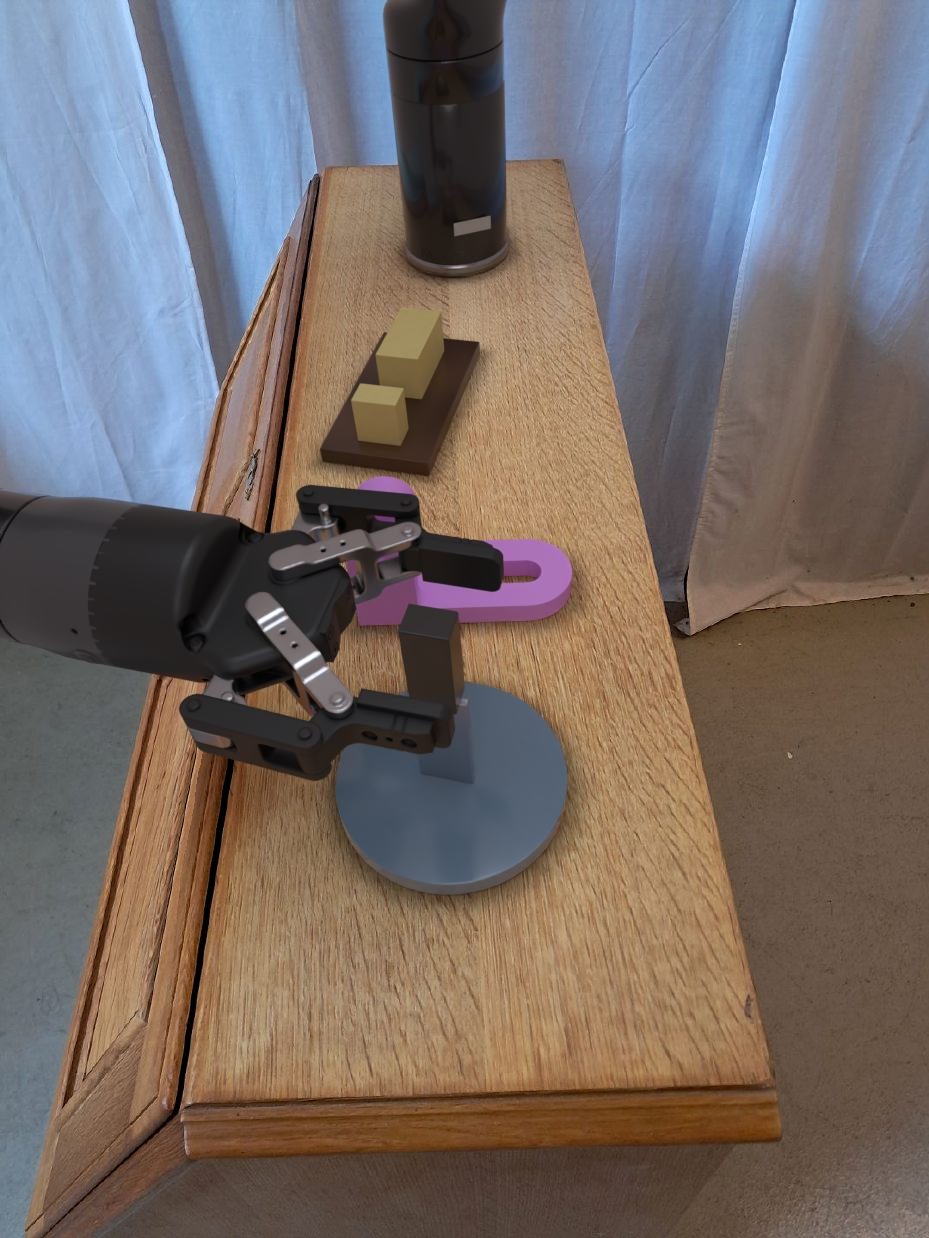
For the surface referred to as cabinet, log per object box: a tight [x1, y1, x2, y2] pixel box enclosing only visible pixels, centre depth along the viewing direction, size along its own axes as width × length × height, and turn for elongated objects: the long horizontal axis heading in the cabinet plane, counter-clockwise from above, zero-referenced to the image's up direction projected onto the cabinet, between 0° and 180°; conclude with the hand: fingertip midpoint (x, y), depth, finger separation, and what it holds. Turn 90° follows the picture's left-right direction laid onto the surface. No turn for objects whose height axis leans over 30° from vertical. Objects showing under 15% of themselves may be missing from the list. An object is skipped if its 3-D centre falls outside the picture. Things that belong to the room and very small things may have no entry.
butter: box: [376, 306, 444, 399], centre depth 69 cm, size 6×3×4 cm, turn 165°
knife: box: [397, 604, 475, 784], centre depth 43 cm, size 2×3×12 cm, turn 75°
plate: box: [334, 681, 569, 896], centre depth 48 cm, size 12×12×1 cm
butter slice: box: [351, 384, 409, 446], centre depth 64 cm, size 2×3×4 cm, turn 76°
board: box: [319, 331, 481, 477], centre depth 69 cm, size 15×8×1 cm, turn 165°
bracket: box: [346, 475, 573, 627], centre depth 55 cm, size 13×6×7 cm, turn 89°
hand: (478, 644), depth 38 cm, fingers open, 8 cm apart
